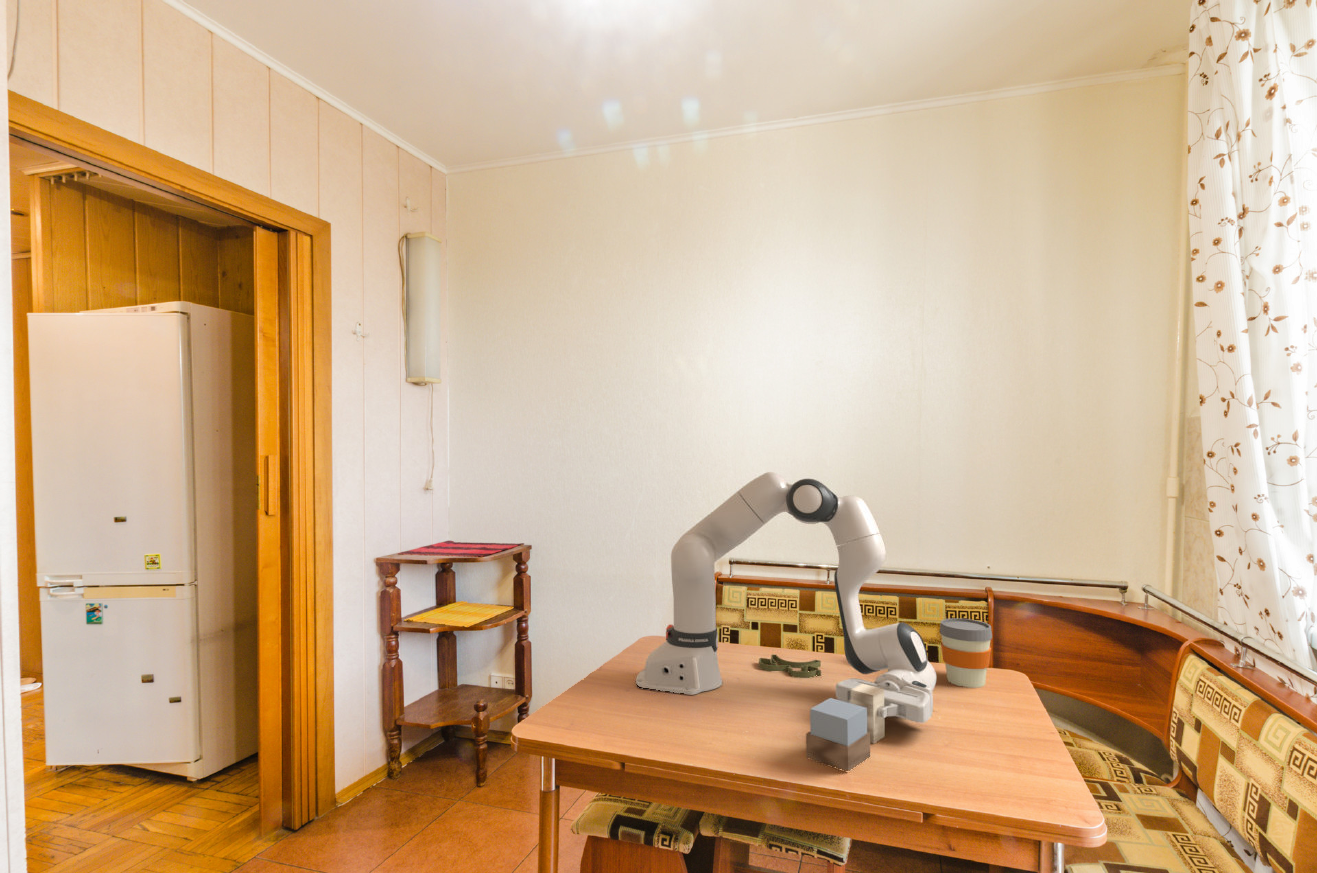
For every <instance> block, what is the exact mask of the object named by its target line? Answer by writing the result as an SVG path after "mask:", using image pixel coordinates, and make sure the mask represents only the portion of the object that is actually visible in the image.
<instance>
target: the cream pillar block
mask: <svg viewBox="0 0 1317 873" xmlns="http://www.w3.org/2000/svg"><path fill="white" fill-rule="evenodd" d="M851 704H854V705H858V706H862V707H865V708H867V732H869V733H870V744H872V743H873V744H872V745H875V744H876V743H878V742H879V741H880V740H881V739H883V738H885V737H886V736H885V718H882V717H879V716H877V713H878V712H877V708H878V707H880V706H883V707H884V689H881V688H878V687H874V686H870V685H866V684H860V685H859V686H857V687H855V688H853V689H851ZM877 741H878V742H877ZM874 743H875V744H874Z"/></svg>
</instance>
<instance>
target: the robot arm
mask: <svg viewBox="0 0 1317 873" xmlns="http://www.w3.org/2000/svg"><path fill="white" fill-rule="evenodd" d="M781 513H787V514H789V515H791V516H792V517H793V518H794V519H795V520H796V521H798V522H800V523H803V524H806V525H807V524H808V525H815V524H818V523H821V524H824V525H825V526H827V527H828V529H829V530H830V533H831V534H832V537H833V540H834V543H835V546H836V548H837V553H838V566H837V568H836V570H835V571H834V576H833V577H834V578H833V580H834V588H835V595H836V600H837V601H836V602H837V605H838V612H839V615H840V617H839V618H840V622H841V628H842V632H843V648H844V655H845V659H846V661H847V664H848V665H850V666H851V667H852V668H853V669H854V671H857V673H860V674H863V675H870V674H873V673H877V672H879V671H883V670H884V671H885V670H887V671H886V672H884V673H882V674H880V675H878V676H877V677H876V678H875V679H874V682H872V681H870V680H869V681H868V680H865V679H861V678H854V677H853V678H846V679H844V680H841V681H839V682H836V684H835V697H836V700H840V701H844V702H847V703H851V689H853V688H855V687H857V686H859V685H860V684H866V685H870V686H874V687H878V688H881V689H884V707H883V706H880V707H878V708H877V712H878V713H877V716H879V717H882V718H884V719H885V718H886V717H897V718H899V719H904V720H907V721H910V722H915V723H918V724H919V723H920V724H921V723H922V724H925V723H926V722H927V721H929V720H930V718H931V717H932V716H933V710H934V698H933V696H934V695H933V690H934V689H935V687H936V683H937V672H936V670H935V668H934V666H933V665H932V664H931V662H930V661H929V660H928V658H929V657H928V652H927V647H926V645H925V642H924V640H923V638H922V636H921V635H920V633H919V632H918V631H917V630H916V629H914V628H913V627H912V626H911V625H910V624H908V623H905V622H902V621H901V622H897V623H892V624H887V625H884V626H879V627H875V628H872V629H871V628H870V629H866V627H865V626H864V621H863V616H862V615H863V614H862V610H861V606H860V600H859V594H860V590H861V587H862V586H863V585H864V584H865V583H866V582H867V581H868V580H869V579H871V578H872V577H873V576H874V575H875V574H877V573H878V571H880V569H881V568H882V567H883V565H884V562H885V559H886V555H887V551H886V546H885V543H884V540H883V537H882V535H881V533H880V530H879V527H878V524H877V521H876V520H875V518H874V516H873V514H872V512H871V510H870V508H869V507H868V505H867V504H866V502H865V501H864V499H862V497H859V496H855V495H845V496H844V495H843V496H841V497H838V496H837V494H835V493H834V492H833V491H831V490H830V489H829V488H828V487H827V486H826V485H825V484H824V483H822V482H821V481H819V480H817V479H814V478H802V479H800V480H797V481H796V482H794V483H793V484H792V483H789V482H788V481H786V479H784V477H782V476H781V475H780V474H778V473H775V472H772V471H769V472H768V471H767V472H765V473H763V474H760V475H759V476H757V477H756V478H754V479H752V480H751V481H749V482H748V483H747V484H745V485H744V486H742V487H741V488H739V489H738V490H737V491H736V492H734V494H732V495H731V496H730V497H729V498H727V500H724V502H722V504H720V505H719V506H717V507H716V508H715V509H714V510H713V511H711V512H710V513H709V514H707V516H705V517H704V518H702V519H701V520H700V521H699V522H697V523H696V524H695V525H694V526H692V527H691V528H690V529H689V530H687V531H686V532H685V533H683V534H682V535H681V536H680V538H679V539H678V540H677V541H676V543H675V544H674V546H673V548H672V550H671V552H670V564H671V568H670V569H671V584H672V586H671V587H672V593H673V595H672V596H673V624H668V625H667V627H666V629H665V630H666V631H665V642H664V643H662V644H660V646H659V647H657V648H656V649H655V650H652V652H651V653H650V654H649V655H648V656H647V657H646V660H645V665H644V669H643V670H640V672H639V673H638V674H637V675H636V678H635V685H636V684H637V685H638V686H640V687H643V688H650V689H656V690H655V691H658V690H660V692H665V691H670V692H669V693H673V692H674V694H680V693H684V694H683V695H688V696H689V695H690V696H692V695H697V694H699V693H703V692H708V691H712V690H714V689H717V688H719V687H720V686H722V685H723V679H722V676H721V672H720V668H719V667H720V666H719V661H718V652H717V651H718V648H719V633H718V628H717V623H716V622H717V618H716V617H717V616H716V615H717V613H716V612H717V611H716V610H717V609H716V608H717V607H716V603H717V602H716V598H717V597H716V581H715V576H716V574H715V564H716V562H717V561H718V560H720V559H721V558H723V557H724V556H726V554H728V553H729V552H731V551H732V550H734V549H735V548H737V547H738V546H740V545H741V544H742V543H743V542H745V541H746V540H748V539H749V538H750V537H751V536H752V535H754V534H755V533H756V532H757V531H758V530H760V529H761V528H762V527H763V526H765V525H766V524H767V523H768V522H769V521H771V520H773V518H774V517H776V516H778V515H779V514H781ZM637 685H636V686H637ZM643 688H642V689H643ZM650 689H649V690H650Z"/></svg>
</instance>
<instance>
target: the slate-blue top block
mask: <svg viewBox="0 0 1317 873" xmlns="http://www.w3.org/2000/svg"><path fill="white" fill-rule="evenodd" d="M809 715H810V716H809V720H810V724H809V725H810V726H809V727H810V728H809V729H810V731H809V732H810V734H811V735H814V736H817V737H820V738H823V739H826V740H829V741H833V742H836V743H839V744H842V745H845V746H849V745H851V744H852V743H854V742H855V741H857V740H858V739H860V738H861V737H863V736H864V735H865V734H867V708H865V707H862V706H858V705H854V704H851V703H847V702H844V701H840V700H838V699H837V698H832V697H830V698H829V697H828V698H827V699H825V700H824V701H822V702H820V703H819V704H816V705H815V706H813V707H811V708H810V711H809Z"/></svg>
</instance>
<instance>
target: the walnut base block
mask: <svg viewBox="0 0 1317 873" xmlns="http://www.w3.org/2000/svg"><path fill="white" fill-rule="evenodd" d="M805 737H806V738H805V743H806V744H805V747H806V748H805V750H806V751H805V752H806V759H808V758H810V759H812V760H811V761H813V760H814V762H816V761H817V762H816V763H819V764H822V763H823V764H822V765H824V764H825V766H827V765H830V766H832V767H831V768H833V767H836V768H838V769H842V770H844V771H850V770H851V769H853V768H854V767H856V766H857V765H859V764H860V763H861V764H863V763H864V762H866V761H867V760H868V759H870V758H871V743H870V733H869V732H867V734H865V735H864V736H863V737H861V738H860V739H858V740H857V741H855V742H854V743H852V744H851V745H849V746H845V745H842V744H839V743H836V742H833V741H829V740H826V739H823V738H820V737H817V736H814V735H811V734H810V731H808V732H806V734H805ZM869 757H870V758H869ZM867 758H868V759H867ZM810 759H809V760H810ZM866 759H867V760H866ZM865 760H866V761H865ZM863 761H864V762H863ZM862 762H863V763H862ZM861 764H860V765H861ZM860 765H859V766H860ZM830 766H829V767H830ZM857 767H858V766H857ZM857 767H856V768H857ZM838 769H837V770H838ZM853 770H854V769H853ZM844 771H843V772H844ZM850 772H851V771H850Z"/></svg>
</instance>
